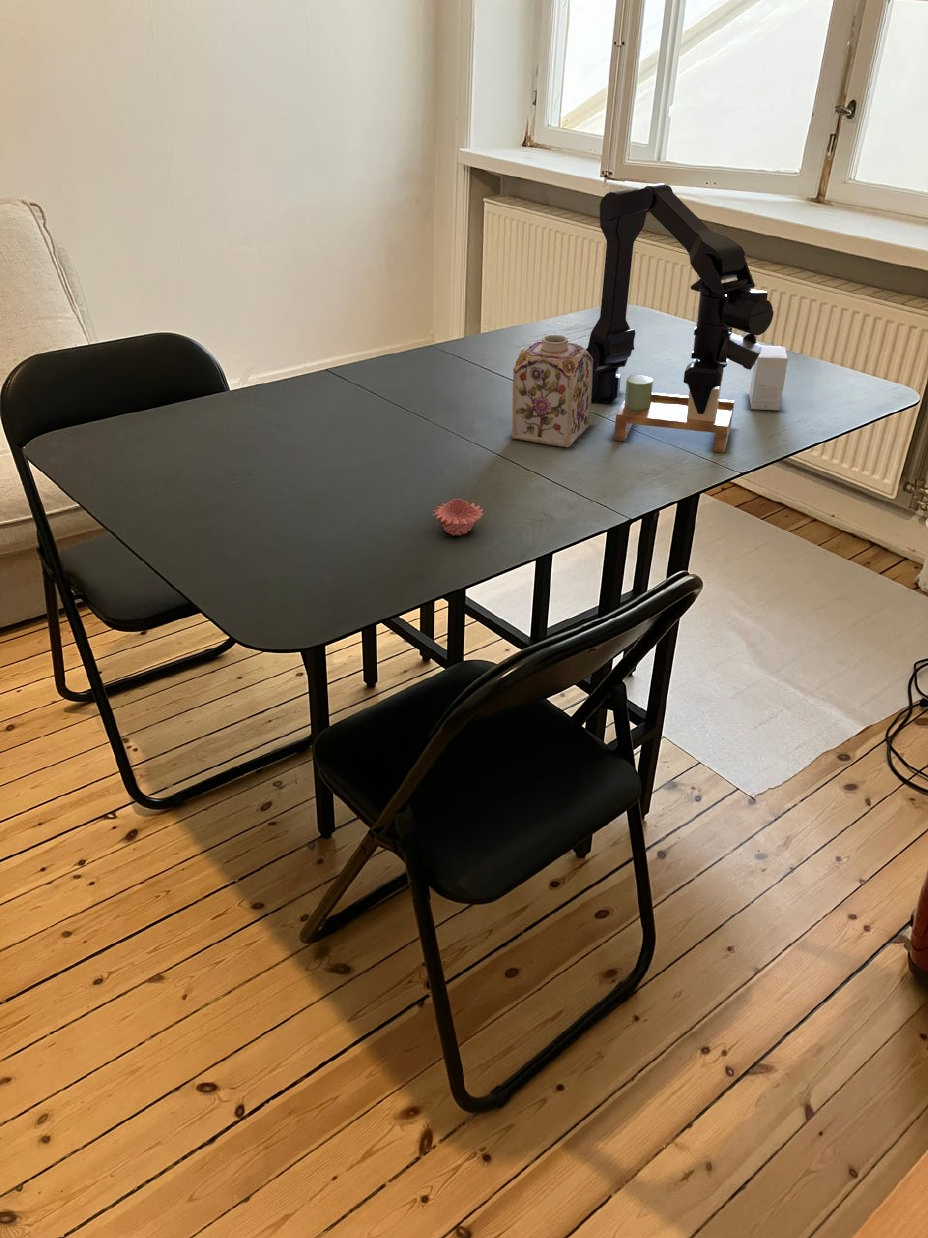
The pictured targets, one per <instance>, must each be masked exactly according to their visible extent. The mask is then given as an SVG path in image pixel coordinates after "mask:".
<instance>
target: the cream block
mask: <svg viewBox="0 0 928 1238" xmlns="http://www.w3.org/2000/svg"><path fill="white" fill-rule="evenodd" d="M721 389H722V384H721V385H720V386H718V387H715V388H713V389H712V391H711V394H710V397H709V400H708V403H707V406H706V409H705V412H704V414H698V413H697V410H696V407H695V404H694V401H693V398H692V395H691V392H690V390H689V392H688V396H689V399H688V408H687V417H686V419H693V420H702V421H712V422H715V418H716V415H717V412H718V405H719V399H720V397H721V396H720V395H721Z"/></svg>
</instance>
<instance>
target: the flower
mask: <svg viewBox="0 0 928 1238" xmlns="http://www.w3.org/2000/svg"><path fill="white" fill-rule="evenodd" d="M434 507H435V508H436V509H433V510H432V512H435V513H432V516H434V517H435V518H434V519H435V520H438V522H439V525H441V527H443V531H445V533H448V534H449V535H452V536H462V535H466V534H467V533H468V532H470V531H471V530H472V528H473V527H474V526H475V523H476V522H477V521H479V520H480V519H482V516H483V515H485V514H484V512H483V511H484V509H482V508H481V505H477V506H475V502H472V503H471V504H470V503H469V501H467V500H466V499H461V498H455V499H451V500H450V501H448V502H447V503H440V505H439V506H436V505H435V506H434ZM480 508H481V509H480Z"/></svg>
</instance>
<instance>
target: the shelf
mask: <svg viewBox="0 0 928 1238" xmlns="http://www.w3.org/2000/svg"><path fill="white" fill-rule="evenodd" d="M688 399H689V395H680V394H668V393H661V392H660V393H659V392H652V397H651V407H650V408H649V409H646V410H632V409H629V408H627V407H625V398H624V399H623V401H622V403H621V405H620V407H619V408H618V410H617V412H616V414H615V421H614V422H615V423H614V435H613V440H614V441H619V442H625V441H626V440H627V438H628V435H629V433H630V431H631V429H632V427H633V425H638V426H647V427H654V428H655V427H656V428H667V429H675V430H685V431H693V432H703V433H713V434H714V440H713V447H712V452H715V453H725V452H726V447H727V444H728V441H729V437H730V433H731V429H732V422H733V414H734V407H735V400H732V399H731V400H729V399H720V398H719V405H718V412H717V415H716V418H715V422H712V421H702V420H693V419H686V417H687V408H688Z"/></svg>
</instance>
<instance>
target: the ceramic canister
mask: <svg viewBox="0 0 928 1238" xmlns="http://www.w3.org/2000/svg"><path fill="white" fill-rule="evenodd" d="M625 381H626V382H625V392H624V393H625V395H624V399H625V407H627V408H629V409H632V410H646V409H649V408H650V407H651V397H652V393H653V385H654V379H653V378H652V377H650V376H647V375H640V374H639V375H630V376H628V377H627V378H626V380H625Z"/></svg>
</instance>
